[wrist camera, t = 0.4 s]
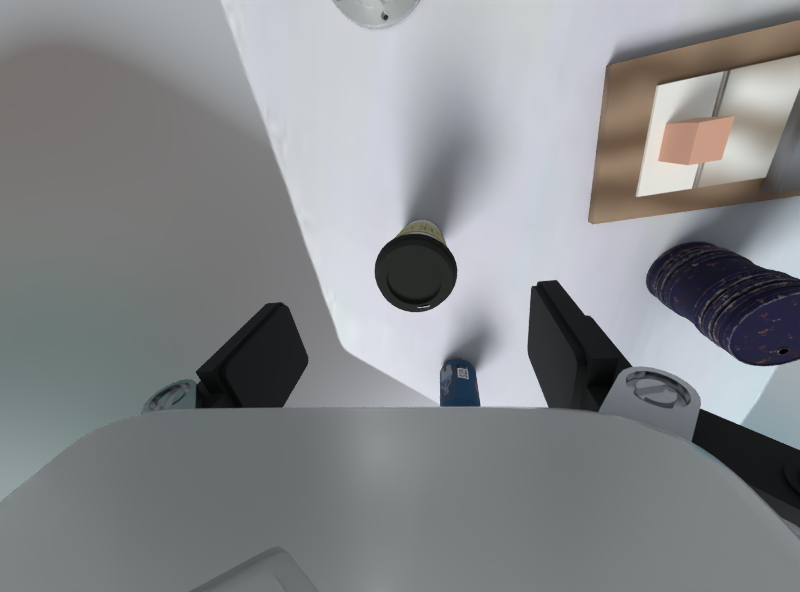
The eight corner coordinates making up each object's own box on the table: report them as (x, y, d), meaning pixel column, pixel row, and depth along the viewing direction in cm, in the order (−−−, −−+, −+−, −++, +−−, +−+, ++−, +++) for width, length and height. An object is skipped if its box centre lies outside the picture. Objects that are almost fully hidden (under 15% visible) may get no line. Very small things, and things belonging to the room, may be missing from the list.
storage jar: (641, 256, 43) (728, 309, 30) (723, 229, 40) (859, 276, 27) (648, 308, 47) (727, 376, 34) (723, 288, 44) (842, 353, 31)
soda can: (470, 384, 60) (476, 437, 49) (436, 378, 60) (436, 429, 50) (479, 360, 56) (488, 411, 46) (444, 353, 56) (445, 402, 46)
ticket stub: (656, 85, 32) (692, 78, 27) (720, 72, 31) (770, 61, 26) (635, 196, 38) (663, 205, 33) (689, 188, 37) (725, 196, 32)
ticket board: (606, 66, 33) (625, 59, 30) (879, 2, 28) (938, -16, 25) (588, 221, 41) (601, 229, 38) (796, 191, 37) (832, 198, 33)
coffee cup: (443, 198, 42) (444, 227, 29) (459, 258, 46) (467, 306, 34) (381, 218, 45) (358, 253, 32) (402, 273, 49) (389, 324, 36)
